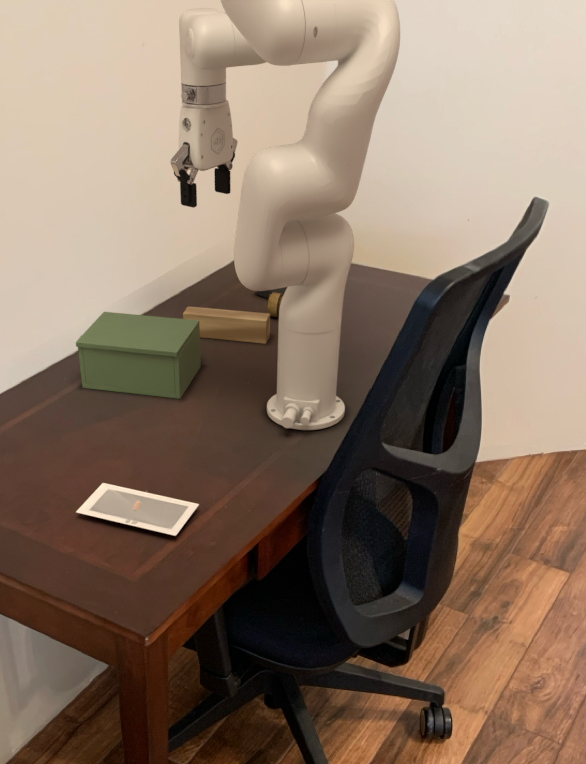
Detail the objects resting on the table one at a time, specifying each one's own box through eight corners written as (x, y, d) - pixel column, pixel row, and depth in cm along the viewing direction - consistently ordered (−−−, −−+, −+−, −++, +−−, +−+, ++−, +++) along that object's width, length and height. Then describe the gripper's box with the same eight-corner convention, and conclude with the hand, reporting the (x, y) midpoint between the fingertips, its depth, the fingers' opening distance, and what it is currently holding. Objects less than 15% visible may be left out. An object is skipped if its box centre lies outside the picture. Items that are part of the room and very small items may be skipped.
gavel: (300, 267, 190) (346, 272, 187) (298, 288, 192) (344, 294, 189) (267, 296, 174) (317, 302, 170) (266, 319, 176) (315, 326, 173)
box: (180, 398, 150) (178, 355, 146) (82, 387, 154) (77, 345, 150) (200, 366, 160) (199, 325, 156) (108, 356, 164) (104, 316, 159)
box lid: (177, 357, 145) (177, 352, 145) (76, 346, 149) (75, 342, 149) (199, 324, 155) (199, 320, 155) (104, 316, 159) (103, 311, 159)
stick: (265, 343, 167) (266, 320, 165) (183, 335, 171) (182, 313, 168) (269, 336, 170) (270, 313, 167) (188, 328, 174) (187, 306, 171)
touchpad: (103, 489, 129) (102, 476, 128) (199, 510, 124) (199, 497, 123) (76, 518, 123) (74, 505, 122) (176, 542, 118) (175, 529, 117)
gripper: (188, 106, 143) (192, 215, 153) (252, 88, 154) (251, 191, 164) (153, 100, 147) (158, 207, 157) (217, 83, 158) (218, 184, 168)
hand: (206, 199), depth 161 cm, fingers open, 9 cm apart
